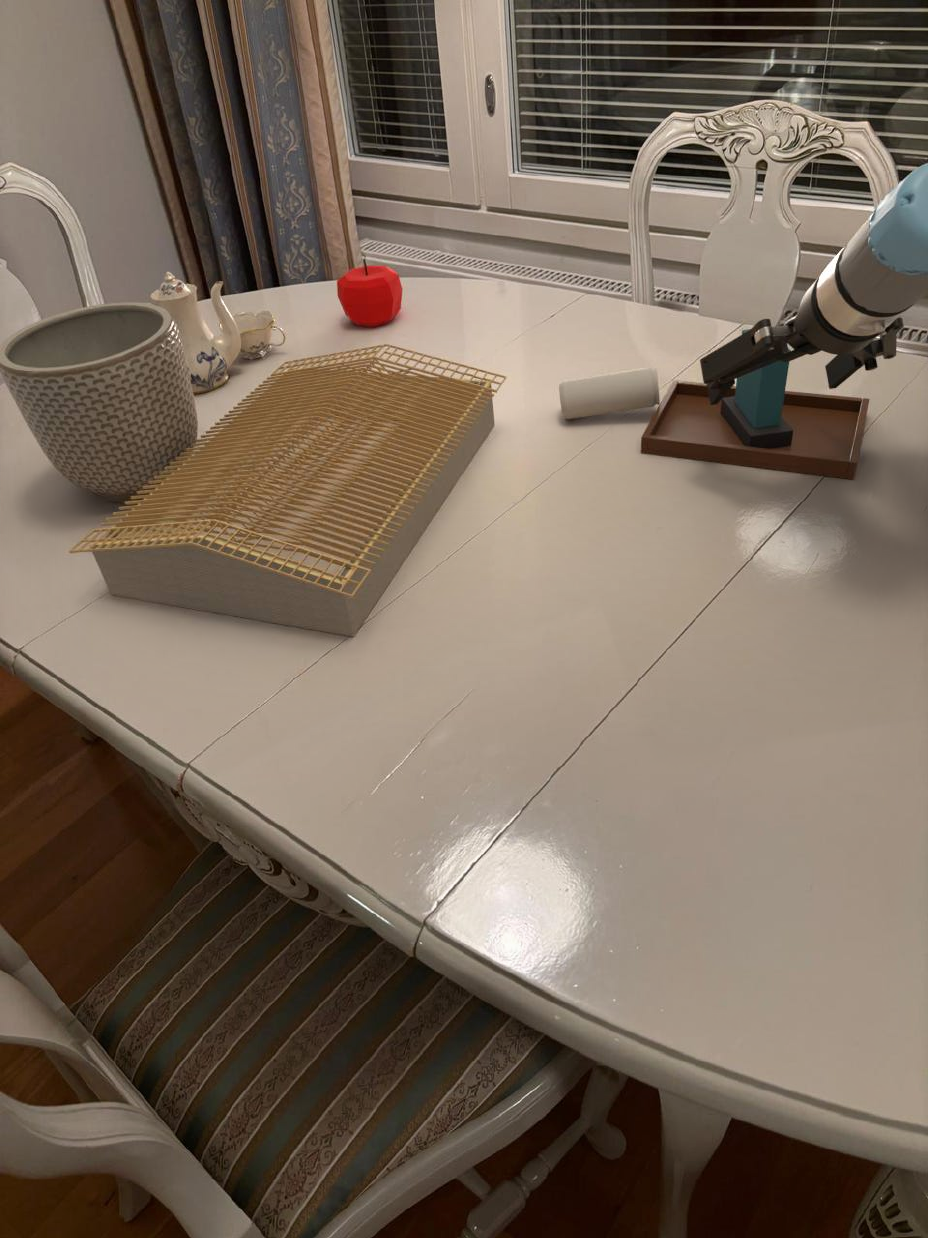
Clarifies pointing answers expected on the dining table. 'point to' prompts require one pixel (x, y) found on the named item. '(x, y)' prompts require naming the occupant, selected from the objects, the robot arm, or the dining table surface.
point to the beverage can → (609, 393)
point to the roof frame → (262, 581)
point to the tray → (702, 433)
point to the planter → (104, 394)
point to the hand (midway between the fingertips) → (771, 385)
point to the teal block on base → (759, 407)
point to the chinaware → (202, 348)
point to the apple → (370, 294)
